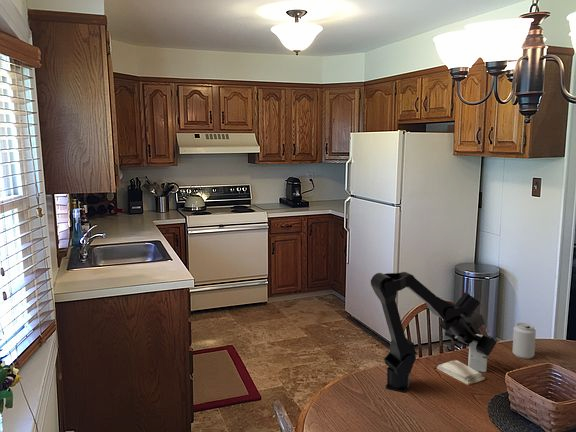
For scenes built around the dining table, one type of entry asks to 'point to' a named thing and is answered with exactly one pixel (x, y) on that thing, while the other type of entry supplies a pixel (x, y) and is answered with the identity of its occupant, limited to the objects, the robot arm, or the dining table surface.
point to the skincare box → (476, 358)
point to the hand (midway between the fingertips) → (480, 350)
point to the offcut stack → (461, 372)
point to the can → (524, 340)
